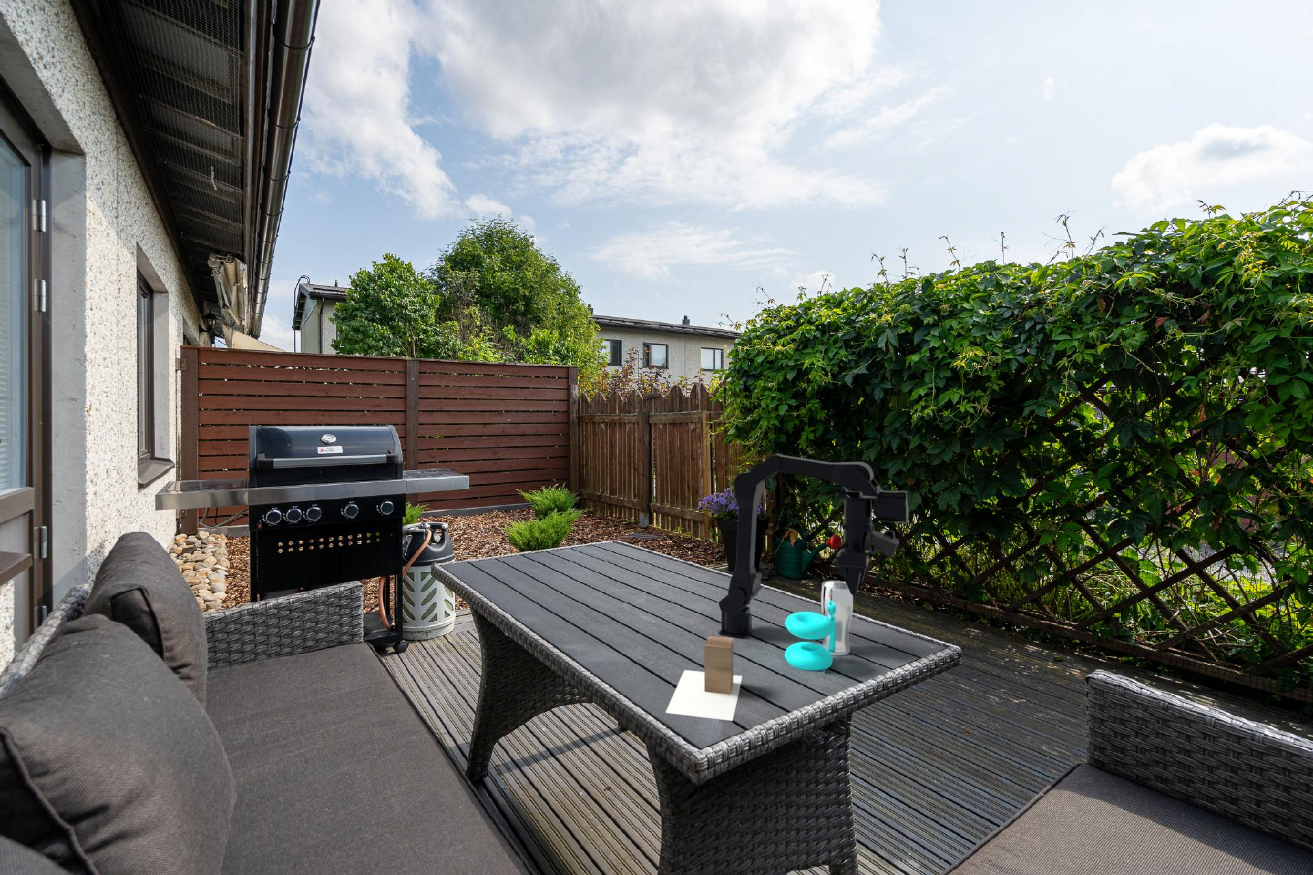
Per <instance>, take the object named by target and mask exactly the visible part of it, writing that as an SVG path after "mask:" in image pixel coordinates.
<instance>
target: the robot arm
mask: <svg viewBox="0 0 1313 875" xmlns="http://www.w3.org/2000/svg"><path fill="white" fill-rule="evenodd" d="M779 472H780V473H785V474H792V475H797V476H802V477H803V476H804V477H810V478H815V479H820V480H826V481H830V482H832V483H834V484H837V485H838V486H840V487H842V488H841V490H840V491H839V492H838V493H837V494H836V495H835V496H834V498H835V499H838V500H839V499H840V500H844V504H843V506H844V510H843V511H844V512H843V513H844V514H843V516H844V517H843V518H844V521H843V524H842V530H844V531H843V542H842V546H841V549H840V550H839V551H838V552H837V553H836V555H835V565H837V568H839V571H840V573H841V575H842V577H843V579H844V582H846V584H847V586H848V589H849V591H850V593H851V594H852V595H853V596H855V595H856V596H857V593H858V588H859V584H861V585H862V584H863V582H864V578H865V575H866V574H865V573H866V569H867V568H868V567H869V560H870V559H872V558H873V557H874V556H875V554H876V551H878V552H880V553H882V554H884V555H885V556H886V557H889V558H894V555H895V554H896V550H897V548H898V546H899V543H900V541H899V539H898V538H896V533H895V531H894V530H890V529H887V530H885V532H882V531H877V530H875V525H874V523H873V522H872V505H873V516H874V517H876V519H878V520H879V522H888V523H899V524H901V523H902V524H908V522H909V506H910V505H909V504H908V491H907V490H898V491H894V490H892V491H891V490H883V488H882V487H881V485H879V483H878V482H877V480H876V479H875V478H874V472H873V469H872V467H871V466H870V465H869V464H868V463H866V462H863V461H849V462H848V461H846V462H845V461H844V462H828V461H821V460H817V459H816V460H815V459H809V458H804V457H796V456H790V455H784V454H783V453H775V454H771V455H769V457H767V458H766V459H765V460H764V461H762V462H761V463H759V464H758V465H757V466H755V467H753V468H752V469H751V470H748V471H744V472H741V473H739V474H738V475H737V476H735V477H734V479H733V483H732V484H733V493H734V494H733V496H734V500H735V502H736V503H735V504H736V506H737V509H738V510H737V511H738V512H737V528H736V529H737V531H736V532H737V533H736V552H735V553H736V554H735V556H736V557H735V567H734V570H733V573H732V575H731V576H730V577H731V578H730V582H729V586H728V591H727V594H726V595H725V596H724V597H723V598H722V599H721V600H720V601H718V606H719V609H720V612H721V629H720V630H719V631H718V634H719V635H723V636H729V637H733V638H734V637H735V638H740V639H745V638H746V637H747V636H748V635H749V634H750V632H752V631H753V626H752V624H753V623H752V622H753V620H752V619H753V614H752V613H750V612H751V606H748V605H750V604H751V602H752V601H753V600H754V599H755V598H756V597H757V596H758V594H759V592H760V591H761V590H762V588H763V587H762V584H761V580H762V578H763V577H762V576H763V574H762V572H757V570H756V568H755V554H756V553H755V552H756V533H757V516H758V514H757V513H758V507H759V505H760V502H761V498H762V496H763V493H764V488H765V483H766V482H767V481H769V480H770V479H772V478H773V477H775V475H777V473H779ZM849 489H850V490H849ZM863 494H864V495H863ZM872 502H873V504H872Z"/></svg>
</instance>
